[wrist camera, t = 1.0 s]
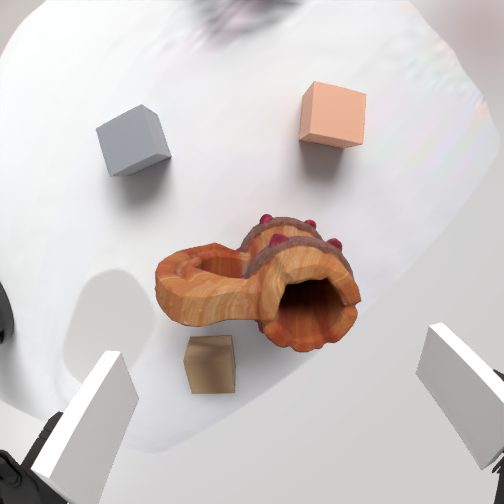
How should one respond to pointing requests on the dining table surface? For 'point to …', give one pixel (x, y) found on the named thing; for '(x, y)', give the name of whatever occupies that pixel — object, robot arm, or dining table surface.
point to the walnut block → (210, 364)
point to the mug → (265, 284)
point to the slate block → (132, 142)
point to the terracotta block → (332, 116)
